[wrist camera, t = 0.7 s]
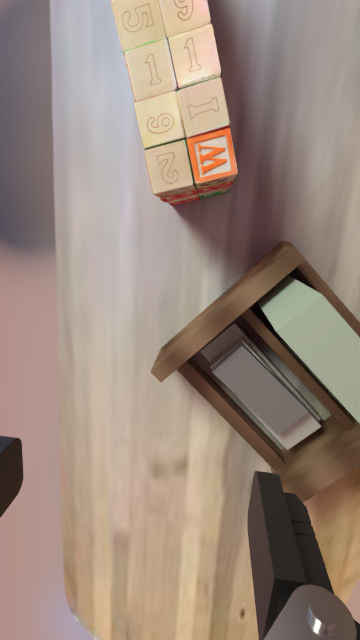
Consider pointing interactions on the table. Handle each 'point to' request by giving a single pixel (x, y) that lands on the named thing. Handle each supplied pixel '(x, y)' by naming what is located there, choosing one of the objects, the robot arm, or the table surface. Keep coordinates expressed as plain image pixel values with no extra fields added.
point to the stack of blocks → (178, 96)
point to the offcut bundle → (260, 385)
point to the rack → (336, 431)
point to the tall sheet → (317, 338)
